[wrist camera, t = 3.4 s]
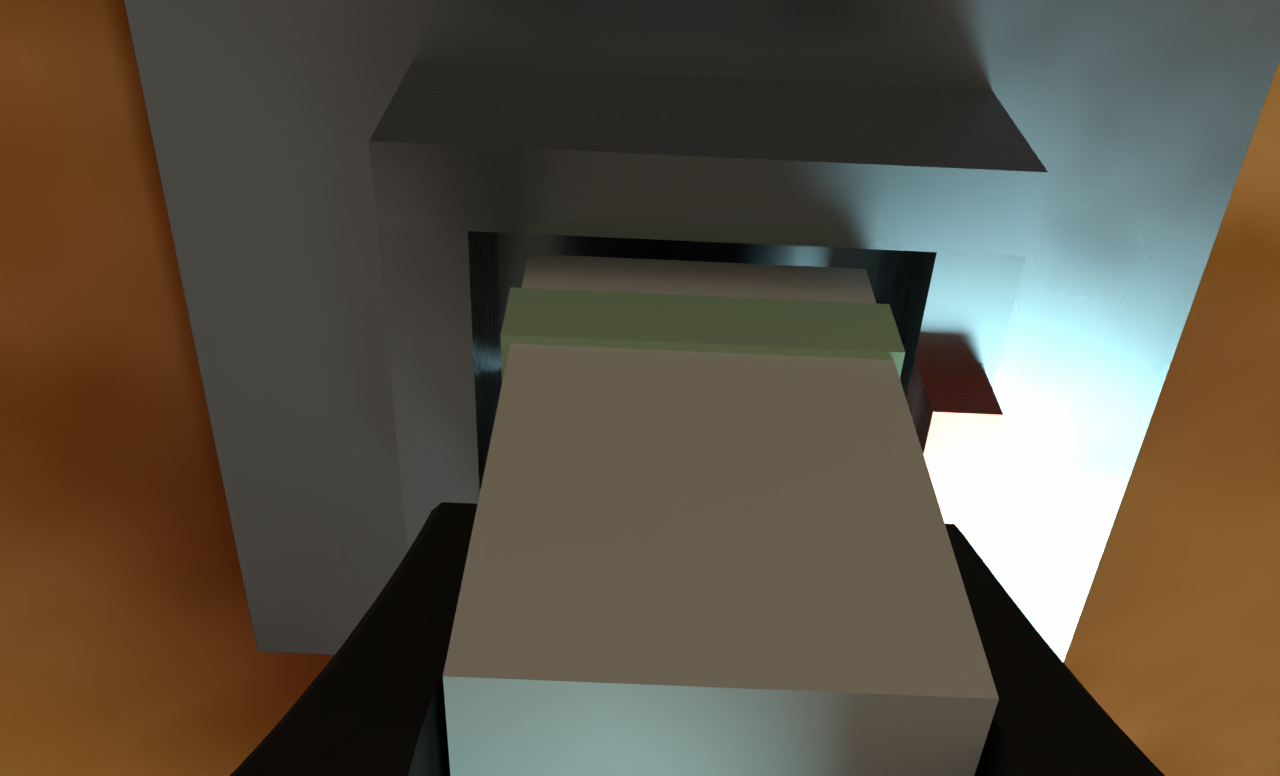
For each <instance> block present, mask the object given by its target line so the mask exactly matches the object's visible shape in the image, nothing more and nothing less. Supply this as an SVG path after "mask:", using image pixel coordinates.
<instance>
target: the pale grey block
mask: <svg viewBox="0 0 1280 776" xmlns="http://www.w3.org/2000/svg"><path fill="white" fill-rule="evenodd" d="M500 339H501V373H502V387H501V392H500V396H499V401H498V406H497V411H496V416H495V421H494V426H493V431H492V436H491V441H490V446H489V451H488V456H487V461H486V466H485V471H484V475H483V480H482V485H481V490H480V495H479V500H478V505H477V510H476V515H475V520H474V525H473V530H472V535H471V540H470V545H469V549H468V554H467V559H466V564H465V569H464V574H463V579H462V584H461V589H460V594H459V599H458V604H457V609H456V614H455V619H454V624H453V628H452V633H451V638H450V643H449V648H448V653H447V658H446V663H445V668H444V673H443V685H444V698H445V711H446V724H447V737H448V750H449V763H450V776H974V775H975V772H976V769H977V766H978V762H979V759H980V756H981V753H982V750H983V747H984V744H985V741H986V738H987V735H988V731H989V728H990V725H991V722H992V719H993V716H994V713H995V710H996V707H997V704H998V700H999V697H998V694H997V691H996V687H995V684H994V681H993V678H992V675H991V671H990V668H989V665H988V662H987V658H986V655H985V652H984V649H983V646H982V642H981V639H980V636H979V633H978V629H977V626H976V623H975V620H974V616H973V613H972V610H971V607H970V604H969V600H968V597H967V594H966V591H965V587H964V584H963V581H962V578H961V575H960V571H959V568H958V565H957V562H956V558H955V555H954V552H953V549H952V546H951V542H950V539H949V536H948V533H947V529H946V526H945V523H944V520H943V516H942V513H941V510H940V507H939V504H938V500H937V497H936V494H935V491H934V487H933V484H932V481H931V478H930V475H929V471H928V468H927V465H926V462H925V458H924V455H923V452H922V449H921V445H920V442H919V439H918V436H917V433H916V429H915V426H914V423H913V420H912V416H911V413H910V410H909V407H908V404H907V400H906V397H905V394H904V391H903V387H902V384H901V381H900V376H901V371H902V366H903V361H904V356H905V350H904V347H903V344H902V341H901V338H900V335H899V332H898V329H897V326H896V323H895V320H894V317H893V314H892V311H891V307H890V304H877V303H876V300H875V297H874V294H873V291H872V287H871V284H870V281H869V278H868V274H867V271H866V269H858V268H835V267H813V266H791V265H768V264H746V263H724V262H702V261H679V260H657V259H635V258H613V257H590V256H568V255H546V254H528V258H527V263H526V268H525V273H524V278H523V283H522V288H514V287H511V288H510V293H509V298H508V302H507V307H506V311H505V316H504V320H503V325H502V330H501V334H500Z"/></svg>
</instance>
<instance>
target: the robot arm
mask: <svg viewBox="0 0 1280 776" xmlns="http://www.w3.org/2000/svg"><path fill="white" fill-rule="evenodd" d="M477 505H478V504H475V503H451V502H442V503H441V504H439V505H438V506H437V507H435V508H434V509H433V510H432V511H431V513H430V514H429V516H428V518H427V520H426V522H425V523H424V525H423V527H422V529H421V530H420V532H419V534H418V535H417V537H416V539H415V540H414V542H413V544H412V545H411V547H410V549H409V550H408V552H407V554H406V555H405V557H404V558H403V560H402V561H401V563H400V564H399V566H398V568H397V569H396V571H395V572H394V573H393V575H392V576H391V578H390V579H389V581H388V582H387V584H386V585H385V587H384V588H383V590H382V591H381V593H380V594H379V596H378V597H377V599H376V600H375V601H374V603H373V604H372V605H371V607H370V608H369V609H368V611H367V612H366V614H365V615H364V616H363V618H362V619H361V620H360V622H359V623H358V624H357V626H356V627H355V629H354V630H353V631H352V633H351V634H350V635H349V637H348V638H347V639H346V641H345V642H344V644H343V645H342V646H341V648H340V649H339V650H338V651H337V653H336V654H335V655H334V657H333V658H332V659H331V660H330V662H329V663H328V664H327V665H326V667H325V668H324V669H323V670H322V671H321V673H320V674H319V675H318V676H317V677H316V679H315V680H314V681H313V682H312V684H311V685H310V686H309V687H308V688H307V690H306V691H305V692H304V693H303V694H302V696H301V697H300V698H299V699H298V700H297V702H296V703H295V704H294V705H293V706H292V708H291V709H290V710H289V711H288V713H287V714H286V715H285V716H284V717H283V718H282V720H281V721H280V722H279V723H278V724H277V725H276V726H275V728H274V729H273V730H272V731H271V732H270V733H269V734H268V735H267V736H266V738H265V739H264V740H263V741H262V742H261V743H260V744H259V745H258V746H257V748H256V749H255V750H254V751H253V752H252V753H251V754H250V755H249V756H248V757H247V758H246V759H245V760H244V761H243V763H242V764H241V765H240V766H239V767H238V768H237V769H236V770H235V771H234V772H233V773H232V774H231V775H230V776H450V763H449V750H448V737H447V724H446V711H445V698H444V685H443V673H444V668H445V663H446V658H447V653H448V648H449V643H450V638H451V633H452V628H453V624H454V619H455V614H456V609H457V604H458V599H459V594H460V589H461V584H462V579H463V574H464V569H465V564H466V559H467V554H468V549H469V545H470V540H471V535H472V530H473V525H474V520H475V515H476V510H477ZM945 526H946V529H947V533H948V536H949V539H950V542H951V546H952V549H953V552H954V555H955V558H956V562H957V565H958V568H959V571H960V575H961V578H962V581H963V584H964V587H965V591H966V594H967V597H968V600H969V604H970V607H971V610H972V613H973V616H974V620H975V623H976V626H977V629H978V633H979V636H980V639H981V642H982V646H983V649H984V652H985V655H986V658H987V662H988V665H989V668H990V671H991V675H992V678H993V681H994V684H995V687H996V691H997V694H998V697H999V700H998V704H997V707H996V710H995V713H994V716H993V719H992V722H991V725H990V728H989V731H988V735H987V738H986V741H985V744H984V747H983V750H982V753H981V756H980V759H979V762H978V766H977V769H976V772H975V775H974V776H1165V775H1164V774H1163V773H1162V772H1161V771H1160V770H1159V769H1158V768H1157V767H1156V766H1155V765H1154V764H1153V763H1152V762H1151V761H1150V760H1149V759H1148V758H1147V757H1146V756H1145V754H1144V753H1143V752H1142V751H1141V750H1140V749H1139V748H1138V747H1137V746H1136V745H1135V744H1134V743H1133V742H1132V740H1131V739H1130V738H1129V737H1128V736H1127V735H1126V734H1125V733H1124V732H1123V731H1122V730H1121V729H1120V728H1119V726H1118V725H1117V724H1116V723H1115V722H1114V721H1113V720H1112V719H1111V718H1110V716H1109V715H1108V714H1107V713H1106V712H1105V711H1104V710H1103V709H1102V707H1101V706H1100V705H1099V704H1098V703H1097V702H1096V701H1095V699H1094V698H1093V697H1092V696H1091V695H1090V694H1089V693H1088V691H1087V690H1086V689H1085V688H1084V687H1083V685H1082V684H1081V683H1080V682H1079V681H1078V679H1077V678H1076V677H1075V676H1074V675H1073V673H1072V672H1071V671H1070V670H1069V669H1068V668H1067V666H1066V665H1065V664H1064V663H1063V662H1062V660H1061V659H1060V658H1059V657H1058V656H1057V654H1056V653H1055V652H1054V651H1053V650H1052V648H1051V647H1050V646H1049V645H1048V644H1047V642H1046V641H1045V640H1044V639H1043V637H1042V636H1041V635H1040V634H1039V632H1038V631H1037V630H1036V629H1035V627H1034V626H1033V625H1032V624H1031V622H1030V621H1029V620H1028V618H1027V617H1026V616H1025V615H1024V613H1023V612H1022V611H1021V609H1020V608H1019V607H1018V606H1017V604H1016V603H1015V602H1014V601H1013V599H1012V598H1011V597H1010V595H1009V594H1008V593H1007V591H1006V590H1005V589H1004V588H1003V586H1002V585H1001V584H1000V582H999V581H998V580H997V578H996V577H995V576H994V574H993V573H992V572H991V570H990V569H989V568H988V566H987V565H986V564H985V562H984V561H983V560H982V558H981V557H980V556H979V554H978V553H977V552H976V550H975V549H974V548H973V546H972V545H971V544H970V542H969V541H968V540H967V539H966V537H965V536H964V535H963V533H962V532H961V531H960V530H959V529H958V528H957V526H956V525H955V524H946V523H945Z"/></svg>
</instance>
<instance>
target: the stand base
mask: <svg viewBox="0 0 1280 776" xmlns="http://www.w3.org/2000/svg"><path fill="white" fill-rule="evenodd" d="M124 2H125V7H126V12H127V17H128V22H129V27H130V32H131V37H132V41H133V46H134V51H135V56H136V61H137V66H138V71H139V76H140V80H141V85H142V90H143V95H144V100H145V105H146V110H147V114H148V119H149V124H150V129H151V134H152V139H153V144H154V149H155V153H156V158H157V163H158V168H159V173H160V178H161V183H162V188H163V192H164V197H165V202H166V207H167V212H168V217H169V222H170V227H171V231H172V236H173V241H174V246H175V251H176V256H177V261H178V266H179V270H180V275H181V280H182V285H183V290H184V295H185V300H186V305H187V309H188V314H189V319H190V324H191V329H192V334H193V339H194V344H195V348H196V353H197V358H198V363H199V368H200V373H201V378H202V383H203V387H204V392H205V397H206V402H207V407H208V412H209V417H210V422H211V426H212V431H213V436H214V441H215V446H216V451H217V456H218V461H219V465H220V470H221V475H222V480H223V485H224V490H225V495H226V500H227V504H228V509H229V514H230V519H231V524H232V529H233V534H234V539H235V543H236V548H237V553H238V558H239V563H240V568H241V573H242V577H243V582H244V587H245V592H246V597H247V602H248V607H249V612H250V616H251V621H252V626H253V631H254V636H255V641H256V646H257V651H258V652H276V653H301V654H326V655H335V654H336V653H337V651H338V650H339V649H340V648H341V646H342V645H343V644H344V642H345V641H346V639H347V638H348V637H349V635H350V634H351V633H352V631H353V630H354V629H355V627H356V626H357V624H358V623H359V622H360V620H361V619H362V618H363V616H364V615H365V614H366V612H367V611H368V609H369V608H370V607H371V605H372V604H373V603H374V601H375V600H376V599H377V597H378V596H379V594H380V593H381V591H382V590H383V588H384V587H385V585H386V584H387V582H388V581H389V579H390V578H391V576H392V575H393V573H394V572H395V571H396V569H397V568H398V566H399V564H400V563H401V561H402V560H403V558H404V557H405V555H406V554H407V552H408V550H409V549H410V547H411V545H412V544H413V542H414V540H415V539H416V537H417V535H418V534H419V532H420V530H421V529H422V527H423V525H424V523H425V522H426V520H427V518H428V516H429V514H430V513H431V511H432V510H433V509H434V508H435V507H437V506H438V505H439V504H441V503H442V502H451V503H475V504H478V500H479V495H480V490H481V485H482V480H483V475H484V471H485V466H486V461H487V456H488V451H489V446H490V441H491V436H492V431H493V426H494V421H495V416H496V411H497V406H498V401H499V396H500V392H501V387H502V373H501V339H500V334H501V330H502V325H503V320H504V316H505V311H506V307H507V302H508V298H509V293H510V288H511V287H514V288H522V283H523V278H524V273H525V268H526V263H527V258H528V254H546V255H568V256H590V257H613V258H635V259H657V260H679V261H702V262H724V263H746V264H768V265H791V266H813V267H835V268H858V269H866V271H867V274H868V278H869V281H870V284H871V287H872V291H873V294H874V297H875V300H876V303H877V304H890V307H891V311H892V314H893V317H894V320H895V323H896V326H897V329H898V332H899V335H900V338H901V341H902V344H903V347H904V350H905V356H904V361H903V366H902V371H901V376H900V381H901V384H902V387H903V391H904V394H905V397H906V400H907V404H908V407H909V410H910V413H911V416H912V420H913V423H914V426H915V429H916V433H917V436H918V439H919V442H920V445H921V449H922V452H923V455H924V458H925V462H926V465H927V468H928V471H929V475H930V478H931V481H932V484H933V487H934V491H935V494H936V497H937V500H938V504H939V507H940V510H941V513H942V516H943V520H944V523H946V524H955V525H956V526H957V528H958V529H959V530H960V531H961V532H962V533H963V535H964V536H965V537H966V539H967V540H968V541H969V542H970V544H971V545H972V546H973V548H974V549H975V550H976V552H977V553H978V554H979V556H980V557H981V558H982V560H983V561H984V562H985V564H986V565H987V566H988V568H989V569H990V570H991V572H992V573H993V574H994V576H995V577H996V578H997V580H998V581H999V582H1000V584H1001V585H1002V586H1003V588H1004V589H1005V590H1006V591H1007V593H1008V594H1009V595H1010V597H1011V598H1012V599H1013V601H1014V602H1015V603H1016V604H1017V606H1018V607H1019V608H1020V609H1021V611H1022V612H1023V613H1024V615H1025V616H1026V617H1027V618H1028V620H1029V621H1030V622H1031V624H1032V625H1033V626H1034V627H1035V629H1036V630H1037V631H1038V632H1039V634H1040V635H1041V636H1042V637H1043V639H1044V640H1045V641H1046V642H1047V644H1048V645H1049V646H1050V647H1051V648H1052V650H1053V651H1054V652H1055V653H1056V654H1057V656H1058V657H1059V658H1060V659H1061V660H1062V662H1063V661H1064V659H1065V656H1066V653H1067V650H1068V647H1069V645H1070V642H1071V639H1072V636H1073V634H1074V631H1075V628H1076V625H1077V622H1078V620H1079V617H1080V614H1081V611H1082V609H1083V606H1084V603H1085V600H1086V597H1087V595H1088V592H1089V589H1090V586H1091V583H1092V581H1093V578H1094V575H1095V572H1096V570H1097V567H1098V564H1099V561H1100V558H1101V556H1102V553H1103V550H1104V547H1105V545H1106V542H1107V539H1108V536H1109V533H1110V531H1111V528H1112V525H1113V522H1114V519H1115V517H1116V514H1117V511H1118V508H1119V506H1120V503H1121V500H1122V497H1123V494H1124V492H1125V489H1126V486H1127V483H1128V480H1129V478H1130V475H1131V472H1132V469H1133V467H1134V464H1135V461H1136V458H1137V455H1138V453H1139V450H1140V447H1141V444H1142V442H1143V439H1144V436H1145V433H1146V430H1147V428H1148V425H1149V422H1150V419H1151V416H1152V414H1153V411H1154V408H1155V405H1156V403H1157V400H1158V397H1159V394H1160V391H1161V389H1162V386H1163V383H1164V380H1165V377H1166V375H1167V372H1168V369H1169V366H1170V364H1171V361H1172V358H1173V355H1174V352H1175V350H1176V347H1177V344H1178V341H1179V339H1180V336H1181V333H1182V330H1183V327H1184V325H1185V322H1186V319H1187V316H1188V313H1189V311H1190V308H1191V305H1192V302H1193V300H1194V297H1195V294H1196V291H1197V288H1198V286H1199V283H1200V280H1201V277H1202V275H1203V272H1204V269H1205V266H1206V263H1207V261H1208V258H1209V255H1210V252H1211V249H1212V247H1213V244H1214V241H1215V238H1216V236H1217V233H1218V230H1219V227H1220V224H1221V222H1222V219H1223V216H1224V213H1225V210H1226V208H1227V205H1228V202H1229V199H1230V197H1231V194H1232V191H1233V188H1234V185H1235V183H1236V180H1237V177H1238V174H1239V172H1240V169H1241V166H1242V163H1243V160H1244V158H1245V155H1246V152H1247V149H1248V146H1249V144H1250V141H1251V138H1252V135H1253V133H1254V130H1255V127H1256V124H1257V121H1258V119H1259V116H1260V113H1261V110H1262V107H1263V105H1264V102H1265V99H1266V96H1267V94H1268V91H1269V88H1270V85H1271V82H1272V80H1273V77H1274V74H1275V71H1276V69H1277V66H1278V63H1279V60H1280V0H124Z"/></svg>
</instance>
